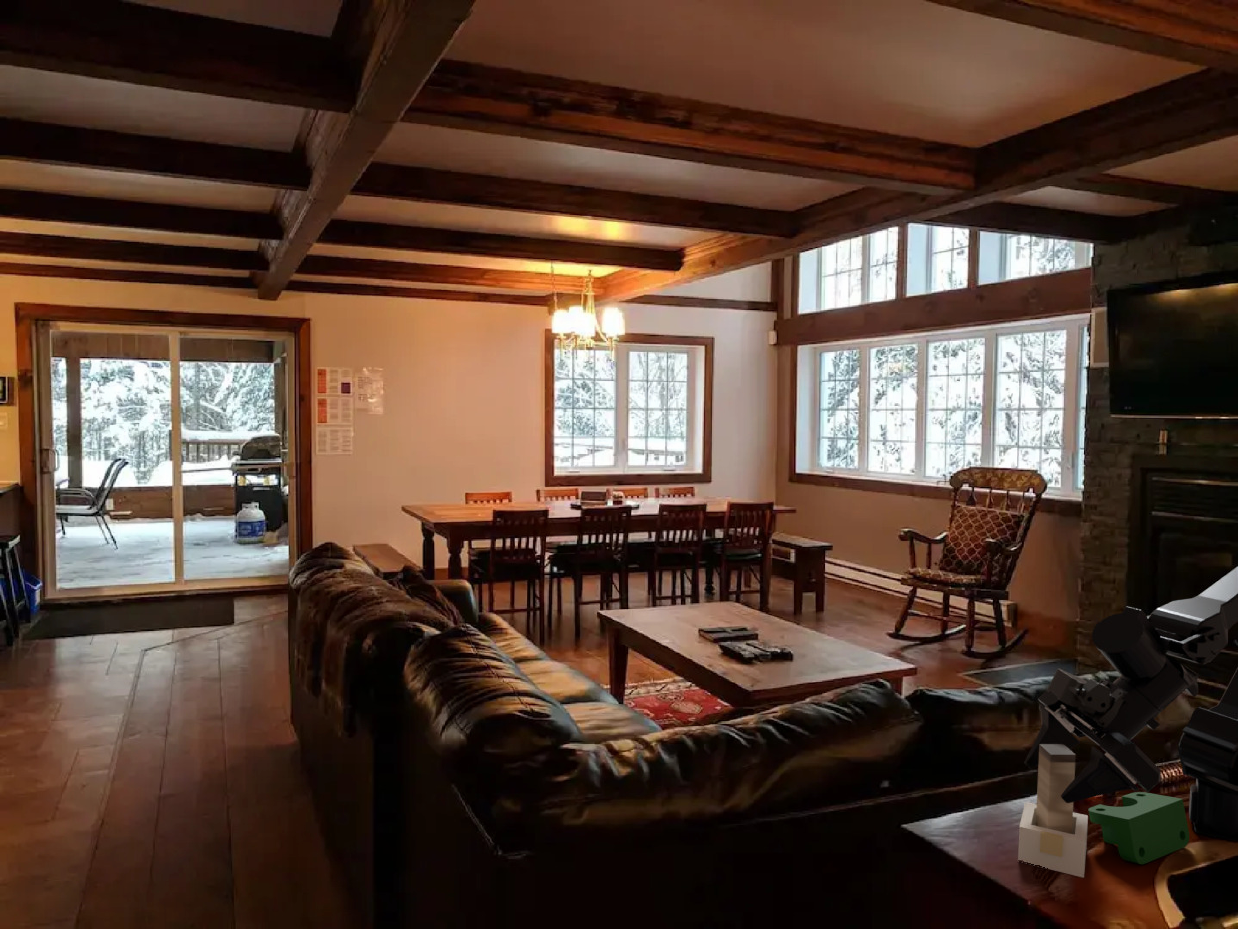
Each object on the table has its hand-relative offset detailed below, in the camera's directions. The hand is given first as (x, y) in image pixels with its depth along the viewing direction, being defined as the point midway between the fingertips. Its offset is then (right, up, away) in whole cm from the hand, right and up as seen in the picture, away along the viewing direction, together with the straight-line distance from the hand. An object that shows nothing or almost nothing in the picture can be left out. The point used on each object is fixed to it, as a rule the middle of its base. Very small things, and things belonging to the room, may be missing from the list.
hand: (1044, 782), depth 108 cm
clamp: (+13, -10, +3) cm, 17 cm away
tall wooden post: (+1, -9, +1) cm, 9 cm away
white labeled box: (+1, -9, +1) cm, 10 cm away
